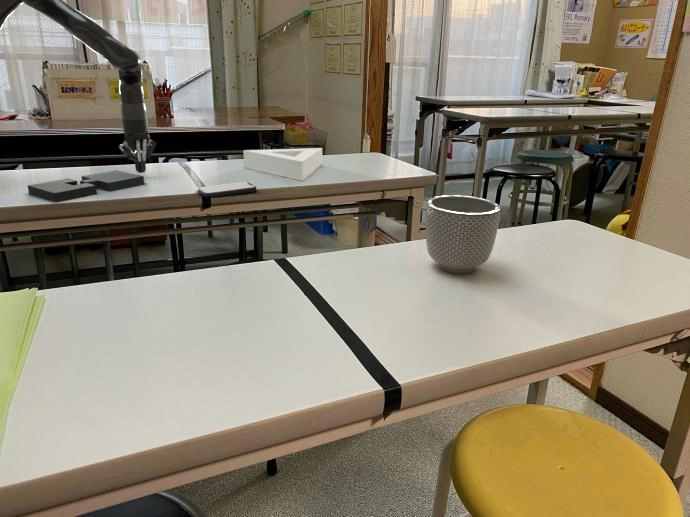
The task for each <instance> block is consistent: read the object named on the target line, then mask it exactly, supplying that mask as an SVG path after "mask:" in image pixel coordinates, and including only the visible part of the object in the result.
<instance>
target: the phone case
mask: <svg viewBox="0 0 690 517" xmlns="http://www.w3.org/2000/svg"><path fill="white" fill-rule="evenodd" d="M256 191H257V186H256V185H254V184H252V183H250V182H248V181H240V182H232V183H231V182H230V183H223V184H215V185H206V186H199V187H197V193H198V194H200V195H201V196H202V197H204V198H216V197H224V196H231V195H232V196H233V195H238V194H247V193H254V192H256Z"/></svg>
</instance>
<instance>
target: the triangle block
mask: <svg viewBox="0 0 690 517" xmlns="http://www.w3.org/2000/svg"><path fill="white" fill-rule="evenodd" d="M242 151H243V152H242V153H243V168H244V169H248V170H253V171H255V172H256V171H257V172H262V173H265V174H269V175H274V176H279V177H284V178H288V179H292V180H296V181H301V182H303V181H304V180H305V179H307V178H308V177H310V176H311V174H313V173H314V172H316V171H317V170H318V169H319V168H320V167H321V166H323V147H307V148H277V149H276V148H275V149H271V148H270V149H245V150H244V149H243V150H242Z"/></svg>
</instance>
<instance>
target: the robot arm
mask: <svg viewBox="0 0 690 517" xmlns="http://www.w3.org/2000/svg"><path fill="white" fill-rule="evenodd" d="M22 4H24V5H26V6H28V7H30V8H32V9H33V10H35V11H37V12H39V13H41V14H43V15H44V16H46V17H47V18H49V19H50V20H52V21H53V22H55V23H56V24H57V25H59V26H60V27H61V28H63V29H64V30H65V31H66V32H67V33H69V34H70V35H71V36H73V37H74V38H75V39H77V41H79V42H80V43H82V44H84V45H85V46H86V47H87V48H89V49H91V50H92V52H95V53H96V54H97V55H99V56H101V57H102V58H103V59H104V60H105V61H107V62H108V63H109V64H111V65H112V66H113V67H114V68H116V69H117V72H118V77H119V85H118V92H119V99H120V115H121V124H122V130H123V134H124V138H123V142H122V144H119V145H118V146H117V147H118V149H119V150H120V152H122V153H123V155H124V156H125V157H126V158H127V159H128V160H130V161H134V167H135V171H136V173H137V174H143V173H146V171H147V167H146V160H147V159H150V158H151V156H152V154H153V152H154V150H155V149H156V147H157V142H156V141H155V140H152V139H151V136H150V134H149V132H150V129H149V128H150V127H149V120H148V119H149V118H148V111H147V110H148V109H147V105H146V99H145V92H144V85H143V69H142V68H143V67H142V60H141V56H140V55H139V53H137V52H136V50H134V49H131V48H130V47H128V46H126V45H125V44H123V43H122V42H121V41H119V40H118V39H116V38H115V37H114V36H113V35H112V34H111V33H110V32H109V31H107V29H105V28H103V27H102V26H101V25H100V24H98V23H97V22H96V21H94V20H93V19H92V18H90V17H88V16H87V15H86V14H84V13H82V12H81V11H79V10H77V9H76V8H74V7H72V6H71V5H69V4H68V3H66V2H65V1H64V0H0V31H1V30H2V28H3V26H4V24H5V22H6V20H7V19H8V18H9V16H11V14H13V13H14V11H16V9H18V8H19V7H20V6H21V5H22Z"/></svg>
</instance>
